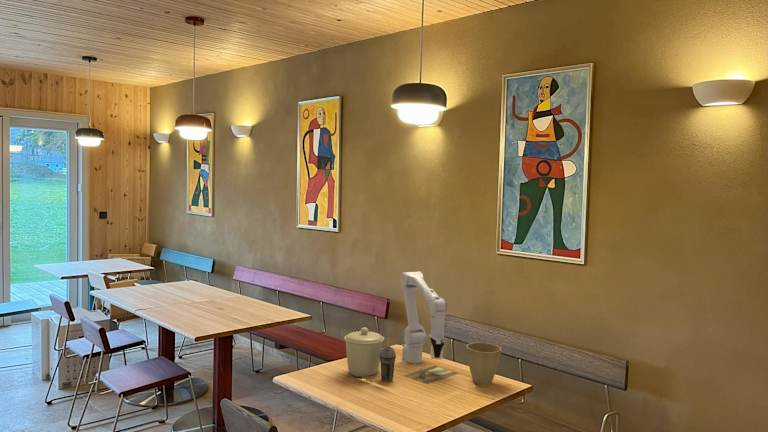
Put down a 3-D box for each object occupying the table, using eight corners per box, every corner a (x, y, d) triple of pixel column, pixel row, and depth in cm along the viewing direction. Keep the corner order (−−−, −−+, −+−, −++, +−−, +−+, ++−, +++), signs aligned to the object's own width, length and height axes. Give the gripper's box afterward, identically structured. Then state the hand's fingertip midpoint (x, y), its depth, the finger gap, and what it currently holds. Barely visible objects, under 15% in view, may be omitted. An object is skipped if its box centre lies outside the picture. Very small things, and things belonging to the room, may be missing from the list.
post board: (402, 378, 246) (403, 367, 246) (434, 368, 261) (435, 358, 261) (427, 386, 236) (427, 375, 236) (458, 375, 252) (459, 365, 251)
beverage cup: (396, 380, 243) (397, 334, 243) (394, 385, 236) (396, 339, 235) (379, 379, 244) (380, 334, 243) (377, 384, 237) (378, 338, 236)
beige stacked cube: (430, 355, 253) (430, 344, 253) (441, 356, 253) (441, 345, 253) (431, 359, 248) (431, 348, 248) (442, 359, 248) (442, 348, 248)
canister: (340, 368, 258) (342, 323, 257) (379, 366, 261) (380, 322, 260) (345, 381, 240) (347, 333, 239) (386, 379, 244) (388, 332, 243)
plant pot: (461, 385, 239) (462, 349, 238) (470, 375, 252) (471, 340, 252) (495, 391, 233) (497, 354, 232) (503, 381, 246) (504, 345, 245)
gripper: (427, 321, 257) (426, 350, 258) (429, 329, 243) (428, 360, 244) (442, 322, 257) (441, 351, 258) (445, 330, 243) (444, 360, 243)
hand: (436, 355), depth 251 cm, fingers closed on beige stacked cube, 5 cm apart
